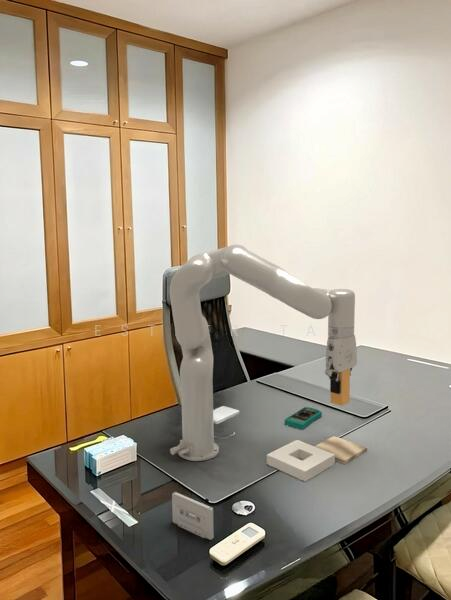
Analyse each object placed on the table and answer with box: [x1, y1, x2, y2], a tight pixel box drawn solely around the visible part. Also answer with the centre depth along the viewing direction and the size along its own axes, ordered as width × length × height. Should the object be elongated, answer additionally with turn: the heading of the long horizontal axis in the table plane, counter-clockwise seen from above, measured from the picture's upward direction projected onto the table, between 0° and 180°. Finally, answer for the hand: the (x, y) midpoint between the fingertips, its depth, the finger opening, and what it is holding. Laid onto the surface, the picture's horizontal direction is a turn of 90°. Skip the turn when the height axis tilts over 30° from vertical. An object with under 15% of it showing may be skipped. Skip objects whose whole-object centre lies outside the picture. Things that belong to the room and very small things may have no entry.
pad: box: [313, 435, 368, 465], centre depth 162 cm, size 12×12×1 cm
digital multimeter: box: [284, 406, 323, 431], centre depth 186 cm, size 7×15×3 cm, turn 143°
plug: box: [330, 369, 351, 407], centre depth 158 cm, size 4×4×11 cm
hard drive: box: [213, 405, 240, 425], centre depth 191 cm, size 2×8×12 cm
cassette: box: [171, 491, 215, 541], centre depth 123 cm, size 12×2×8 cm, turn 53°
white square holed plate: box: [266, 439, 336, 482], centre depth 154 cm, size 14×14×3 cm
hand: (339, 390), depth 159 cm, fingers closed on plug, 4 cm apart
